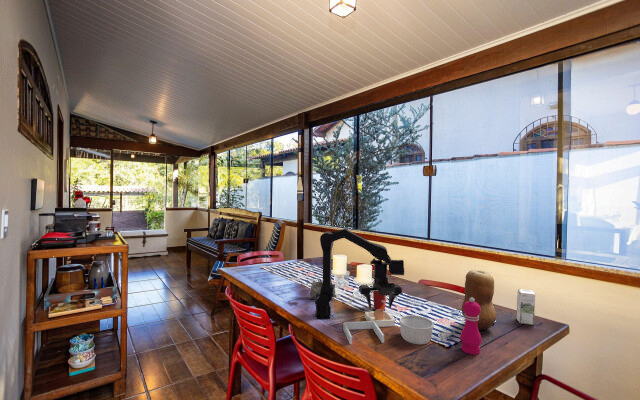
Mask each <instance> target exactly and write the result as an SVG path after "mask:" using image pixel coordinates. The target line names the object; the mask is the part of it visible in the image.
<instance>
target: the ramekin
mask: <svg viewBox="0 0 640 400" xmlns="http://www.w3.org/2000/svg"><path fill="white" fill-rule="evenodd" d="M398 324H399V325H400V326H399V327H400V329H399V330H400V335H401V337H402V338H403V340H404V341H406V342H407V343H410V344H413V345H414V344H415V345H425V344H426V345H427V344H428V343H429V342H431V340H432V336H433V329H434V327H435V326H434V325H435V324H434V322H433V320H432V319H429V318H427V317H425V316H421V315H415V314H411V315H410V314H408V315H403V316H401V317H400V318H399V323H398Z"/></svg>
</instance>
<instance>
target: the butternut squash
mask: <svg viewBox="0 0 640 400" xmlns="http://www.w3.org/2000/svg"><path fill="white" fill-rule="evenodd" d="M494 294H495V280H494V276H493V275H492V274H491V273H490V272H488V271H485V270H477V269H471V270H469V271H468V272H467V273H466V275H465V280H464V298H463V302H462V304H461V314H462V316H463V317H464V313H465V312H464V311H463V305H464V303H465V302H467V301H469V299H470V298H471V297H472V298H474V300H475V301H474V302H476V303H477V304H479V306H480V308H481V312H480V314H479V315H478V316H479V320H478V322H477V326H478V330H479V331H484V330H487V329H489V328H490V327H492V326H493V325H494V323H495V322H496V318H497V313H496V309H495V307H494V304H493V297H494Z"/></svg>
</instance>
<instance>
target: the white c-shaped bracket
mask: <svg viewBox="0 0 640 400" xmlns="http://www.w3.org/2000/svg"><path fill="white" fill-rule="evenodd" d="M342 325H343V326H342V328H343V332H344V334H345V337H346V338H347V341H348V343H349V345H352V343H353V336H352V333H351V332H350V330H351V331H352V330H373V331H374V333H375V334H376V336H377V338H378V339H379V341H380V342H381V344H384V343H385V334H384V333H383V332H382V330H381V328H380V327H378V326H377V324H376V323H375V321H367V320H365V321H364V320H363V321H343V323H342Z"/></svg>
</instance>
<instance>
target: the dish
mask: <svg viewBox="0 0 640 400" xmlns="http://www.w3.org/2000/svg"><path fill="white" fill-rule="evenodd" d="M383 311H384V313H385V318H384V319H383V320H376V319H375V318H374V312H375V311H364V318H365V321H375V323H376V324H377V326H378V327H379V328H381V327H384V328H385V327H395V325H396V321H395V318H394V317H393V316H392V315H391V314H390V313H389V311H387V310H383Z"/></svg>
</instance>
